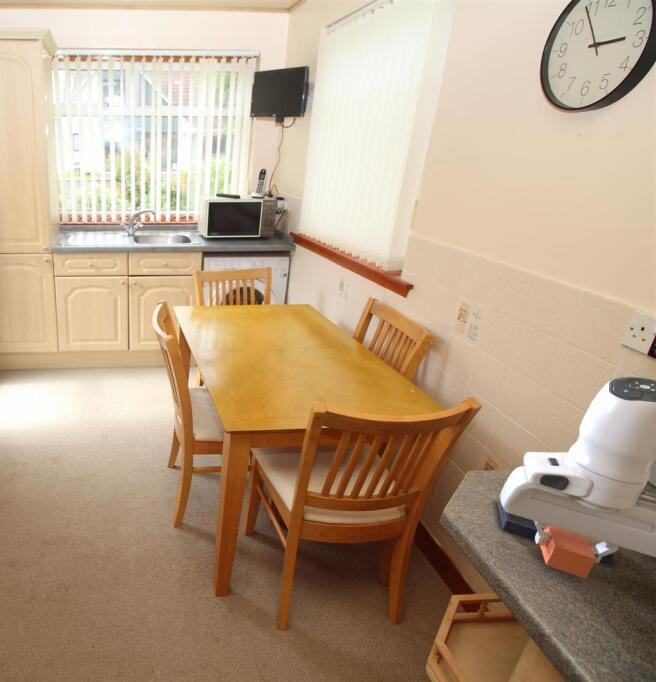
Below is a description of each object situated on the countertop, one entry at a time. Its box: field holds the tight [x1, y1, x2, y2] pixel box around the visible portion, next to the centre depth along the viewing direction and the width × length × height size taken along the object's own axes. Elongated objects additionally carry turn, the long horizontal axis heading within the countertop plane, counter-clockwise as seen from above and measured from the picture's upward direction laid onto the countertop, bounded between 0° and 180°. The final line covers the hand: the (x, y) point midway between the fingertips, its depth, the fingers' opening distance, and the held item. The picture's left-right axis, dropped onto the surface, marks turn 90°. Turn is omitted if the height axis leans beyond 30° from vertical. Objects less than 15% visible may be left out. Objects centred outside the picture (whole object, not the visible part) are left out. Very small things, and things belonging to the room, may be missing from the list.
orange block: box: [539, 525, 596, 579], centre depth 76 cm, size 6×5×4 cm
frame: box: [497, 498, 615, 565], centre depth 84 cm, size 15×8×2 cm, turn 61°
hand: (564, 550), depth 76 cm, fingers closed on orange block, 5 cm apart
